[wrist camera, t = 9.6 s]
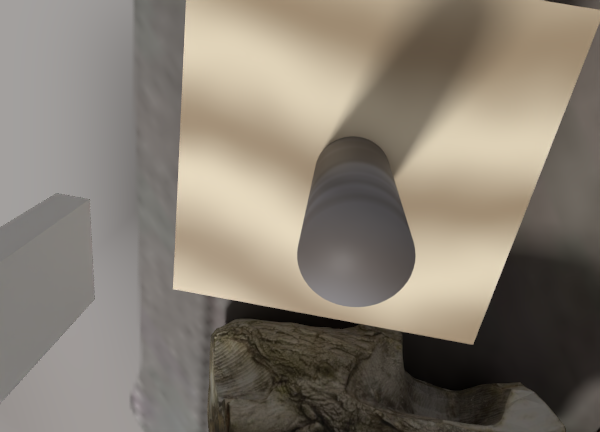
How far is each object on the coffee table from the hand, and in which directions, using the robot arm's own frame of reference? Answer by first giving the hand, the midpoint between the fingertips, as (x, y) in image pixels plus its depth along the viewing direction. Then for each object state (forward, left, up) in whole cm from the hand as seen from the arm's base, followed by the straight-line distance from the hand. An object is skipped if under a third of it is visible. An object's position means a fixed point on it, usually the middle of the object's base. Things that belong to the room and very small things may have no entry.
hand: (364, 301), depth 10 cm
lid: (0, 0, -14) cm, 14 cm away
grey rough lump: (+20, +6, -19) cm, 28 cm away
